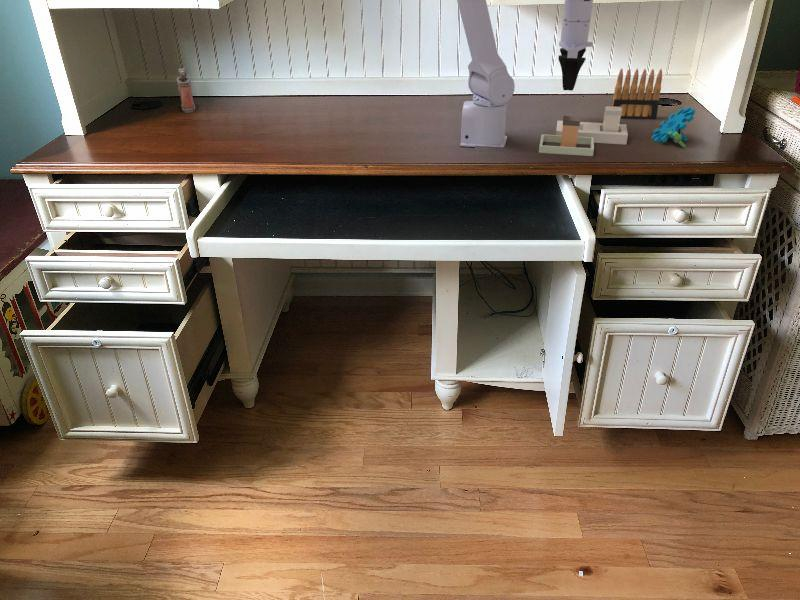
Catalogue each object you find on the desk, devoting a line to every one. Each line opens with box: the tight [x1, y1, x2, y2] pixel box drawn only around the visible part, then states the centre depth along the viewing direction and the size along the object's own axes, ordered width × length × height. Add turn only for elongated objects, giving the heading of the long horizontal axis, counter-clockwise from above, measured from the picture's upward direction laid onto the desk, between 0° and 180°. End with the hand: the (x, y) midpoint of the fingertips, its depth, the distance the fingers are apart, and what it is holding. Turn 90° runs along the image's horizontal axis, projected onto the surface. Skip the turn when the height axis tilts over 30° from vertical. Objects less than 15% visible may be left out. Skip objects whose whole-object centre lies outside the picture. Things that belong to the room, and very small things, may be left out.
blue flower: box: [650, 106, 696, 148], centre depth 139 cm, size 11×6×10 cm
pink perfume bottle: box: [176, 68, 196, 113], centre depth 167 cm, size 8×3×10 cm, turn 17°
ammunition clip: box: [611, 68, 663, 120], centre depth 152 cm, size 11×2×12 cm, turn 82°
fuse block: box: [555, 120, 629, 146], centre depth 142 cm, size 15×8×3 cm, turn 76°
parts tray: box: [538, 133, 595, 157], centre depth 136 cm, size 11×8×2 cm
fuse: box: [602, 105, 622, 132], centre depth 140 cm, size 3×3×6 cm
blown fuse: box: [560, 115, 581, 147], centre depth 135 cm, size 3×3×6 cm
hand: (568, 85), depth 143 cm, fingers open, 7 cm apart
